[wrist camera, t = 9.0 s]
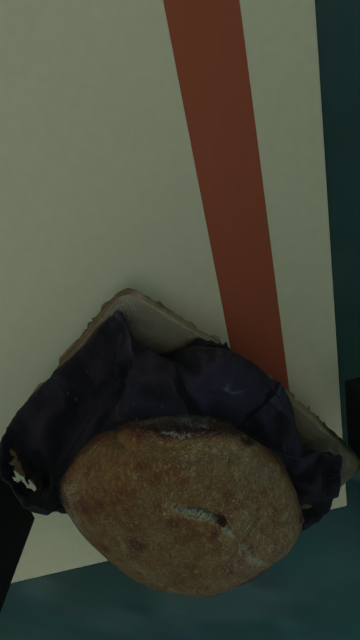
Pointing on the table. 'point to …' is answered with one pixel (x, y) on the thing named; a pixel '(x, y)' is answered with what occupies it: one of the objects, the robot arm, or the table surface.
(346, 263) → the table surface
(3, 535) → the robot arm
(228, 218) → the towel
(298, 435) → the bread roll
